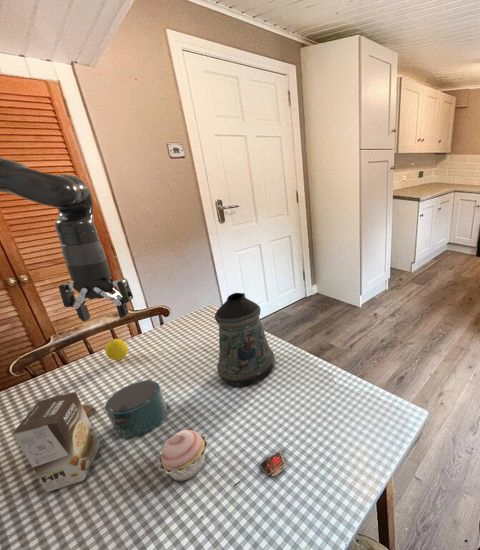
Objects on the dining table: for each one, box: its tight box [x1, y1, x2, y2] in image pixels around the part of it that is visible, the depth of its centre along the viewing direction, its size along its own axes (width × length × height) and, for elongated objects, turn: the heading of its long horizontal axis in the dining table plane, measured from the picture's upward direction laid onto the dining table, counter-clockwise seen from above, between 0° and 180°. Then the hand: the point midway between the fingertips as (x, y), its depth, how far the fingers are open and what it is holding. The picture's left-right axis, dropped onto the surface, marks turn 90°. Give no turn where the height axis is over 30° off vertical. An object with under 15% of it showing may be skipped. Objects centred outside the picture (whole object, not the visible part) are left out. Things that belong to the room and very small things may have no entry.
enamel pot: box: [104, 379, 168, 439], centre depth 76 cm, size 11×14×8 cm
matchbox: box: [260, 451, 286, 477], centre depth 66 cm, size 5×5×1 cm
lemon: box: [104, 338, 129, 361], centre depth 98 cm, size 6×6×8 cm
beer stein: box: [214, 292, 275, 388], centre depth 91 cm, size 16×19×25 cm
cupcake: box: [157, 429, 209, 482], centre depth 64 cm, size 9×9×10 cm
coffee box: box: [12, 391, 101, 493], centre depth 63 cm, size 9×6×16 cm
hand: (105, 318), depth 80 cm, fingers open, 8 cm apart
